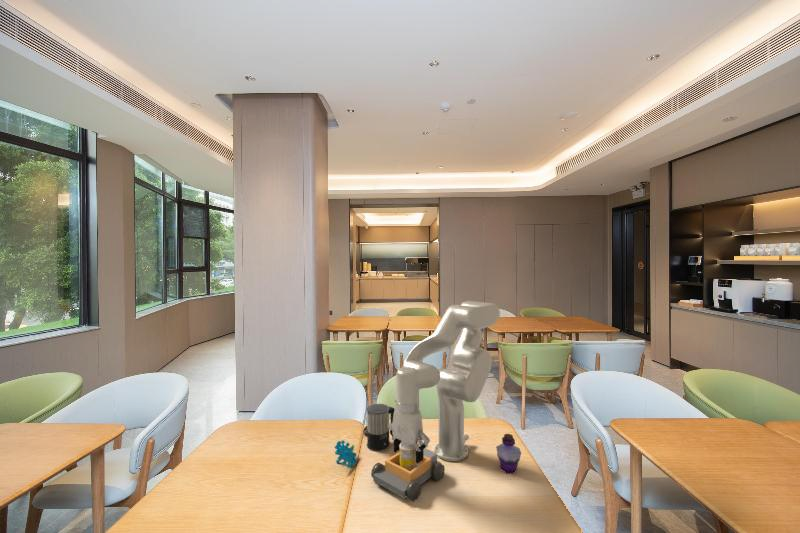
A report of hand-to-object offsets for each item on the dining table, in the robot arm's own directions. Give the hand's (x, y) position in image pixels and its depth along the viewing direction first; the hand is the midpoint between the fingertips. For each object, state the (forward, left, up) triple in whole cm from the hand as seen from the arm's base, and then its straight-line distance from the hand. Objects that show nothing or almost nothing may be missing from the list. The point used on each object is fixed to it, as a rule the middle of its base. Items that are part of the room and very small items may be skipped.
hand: (408, 456), depth 122 cm
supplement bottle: (0, 0, -4) cm, 5 cm away
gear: (+7, -23, -8) cm, 26 cm away
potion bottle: (-27, +23, -8) cm, 36 cm away
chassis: (0, 0, -8) cm, 8 cm away
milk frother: (-11, -27, -8) cm, 30 cm away
